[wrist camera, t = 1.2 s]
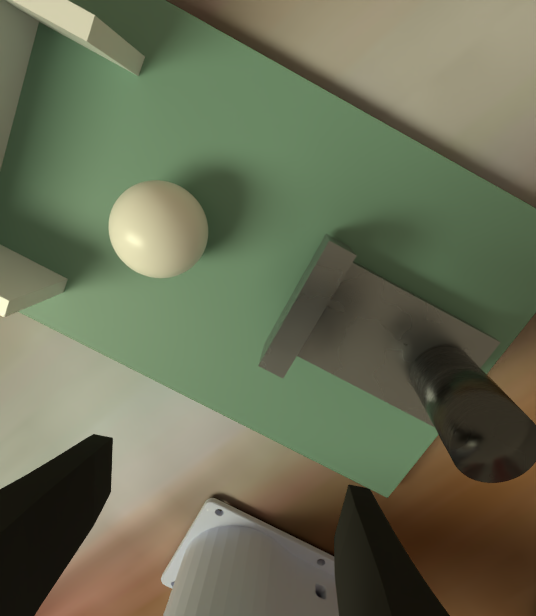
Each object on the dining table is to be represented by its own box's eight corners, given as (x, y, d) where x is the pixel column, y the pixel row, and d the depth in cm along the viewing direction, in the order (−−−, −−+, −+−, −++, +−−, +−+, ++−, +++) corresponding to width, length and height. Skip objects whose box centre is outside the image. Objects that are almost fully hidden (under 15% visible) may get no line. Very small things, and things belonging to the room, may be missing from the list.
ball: (232, 207, 18) (211, 212, 14) (196, 282, 19) (168, 306, 15) (152, 165, 17) (109, 157, 14) (122, 244, 19) (74, 257, 15)
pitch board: (577, 237, 17) (593, 240, 16) (384, 484, 22) (387, 498, 21) (52, -57, 16) (36, -72, 15) (-32, 274, 21) (-48, 278, 20)
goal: (145, 56, 16) (94, 15, 12) (63, 292, 20) (4, 317, 16) (26, -9, 16) (-63, -73, 12) (-35, 242, 19) (-120, 255, 15)
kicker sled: (501, 327, 18) (597, 396, 12) (424, 426, 19) (475, 526, 14) (325, 233, 17) (335, 255, 11) (264, 343, 19) (245, 410, 13)
